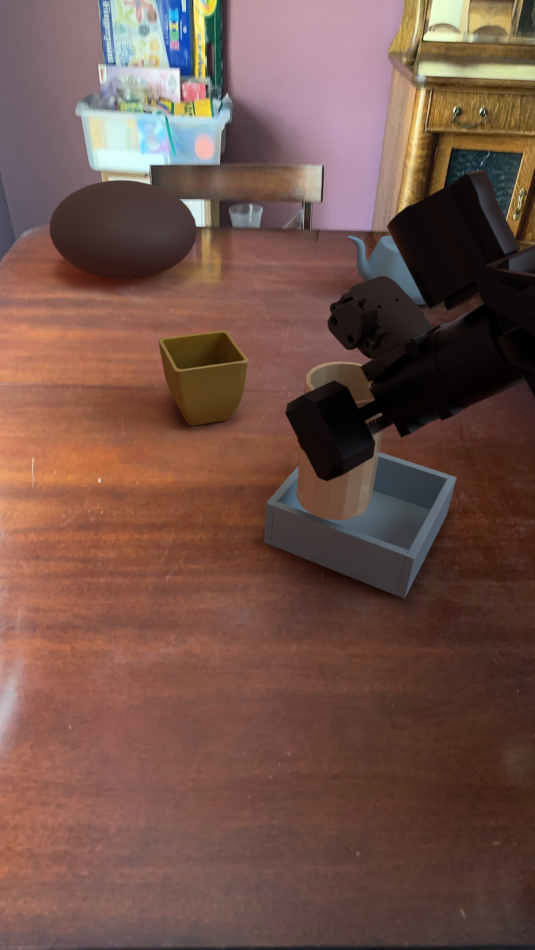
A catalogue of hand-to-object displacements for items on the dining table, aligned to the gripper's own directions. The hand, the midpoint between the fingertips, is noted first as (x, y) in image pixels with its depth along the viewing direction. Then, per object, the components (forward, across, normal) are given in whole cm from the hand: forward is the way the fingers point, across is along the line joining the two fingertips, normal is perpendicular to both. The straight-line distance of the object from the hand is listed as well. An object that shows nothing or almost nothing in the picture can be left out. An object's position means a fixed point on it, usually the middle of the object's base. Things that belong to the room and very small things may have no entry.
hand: (329, 429), depth 59 cm
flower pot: (+28, -6, -8) cm, 30 cm away
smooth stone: (+60, -26, -41) cm, 77 cm away
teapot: (+34, -56, -15) cm, 67 cm away
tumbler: (+4, 0, +6) cm, 7 cm away
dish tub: (+9, -5, +10) cm, 14 cm away
